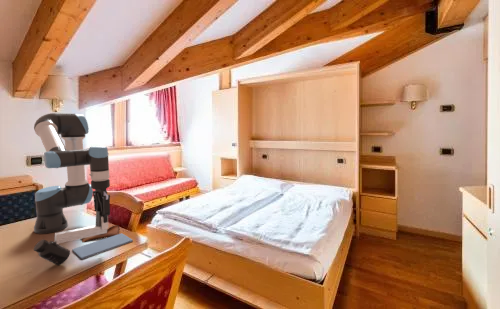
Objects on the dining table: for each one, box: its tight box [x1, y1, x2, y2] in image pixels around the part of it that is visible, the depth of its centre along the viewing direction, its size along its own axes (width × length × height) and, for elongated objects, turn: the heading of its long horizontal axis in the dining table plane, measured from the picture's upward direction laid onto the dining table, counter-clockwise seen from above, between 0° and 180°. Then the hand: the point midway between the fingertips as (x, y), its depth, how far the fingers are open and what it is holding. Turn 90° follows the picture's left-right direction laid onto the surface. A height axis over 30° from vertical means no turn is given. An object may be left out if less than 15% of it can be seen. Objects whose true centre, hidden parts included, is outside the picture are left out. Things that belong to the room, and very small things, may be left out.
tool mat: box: [72, 232, 134, 260], centre depth 126 cm, size 12×23×1 cm, turn 141°
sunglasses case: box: [81, 224, 121, 243], centre depth 137 cm, size 18×7×7 cm, turn 121°
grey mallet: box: [54, 210, 107, 245], centre depth 115 cm, size 4×20×11 cm, turn 142°
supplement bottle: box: [33, 239, 71, 266], centre depth 107 cm, size 7×7×12 cm
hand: (103, 227), depth 122 cm, fingers closed on grey mallet, 4 cm apart
